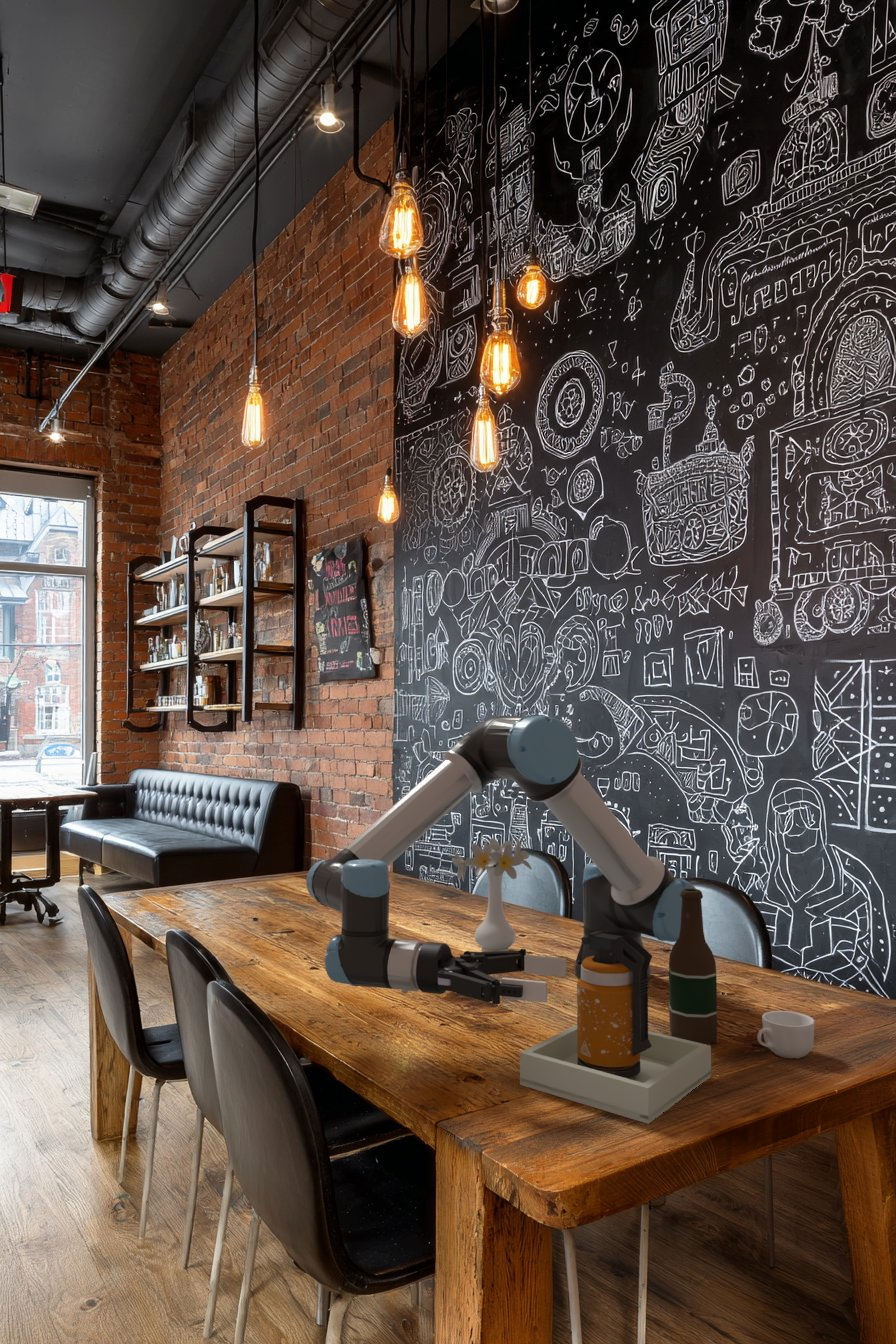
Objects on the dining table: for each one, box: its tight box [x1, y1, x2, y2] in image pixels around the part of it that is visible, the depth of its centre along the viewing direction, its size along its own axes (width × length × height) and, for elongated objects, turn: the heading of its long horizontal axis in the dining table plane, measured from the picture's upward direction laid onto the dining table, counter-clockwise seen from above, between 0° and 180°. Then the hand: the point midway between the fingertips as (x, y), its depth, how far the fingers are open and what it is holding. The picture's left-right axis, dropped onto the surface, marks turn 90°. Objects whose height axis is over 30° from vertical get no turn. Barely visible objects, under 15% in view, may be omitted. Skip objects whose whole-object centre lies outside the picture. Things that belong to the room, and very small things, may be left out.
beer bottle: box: [668, 888, 718, 1045], centre depth 150 cm, size 8×8×24 cm
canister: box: [576, 931, 653, 1079], centre depth 132 cm, size 9×11×20 cm
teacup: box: [756, 1010, 816, 1059], centre depth 142 cm, size 10×8×5 cm
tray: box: [519, 1024, 712, 1125], centre depth 132 cm, size 20×20×4 cm
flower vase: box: [451, 837, 533, 952], centre depth 205 cm, size 13×18×25 cm
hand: (557, 979), depth 135 cm, fingers open, 13 cm apart
